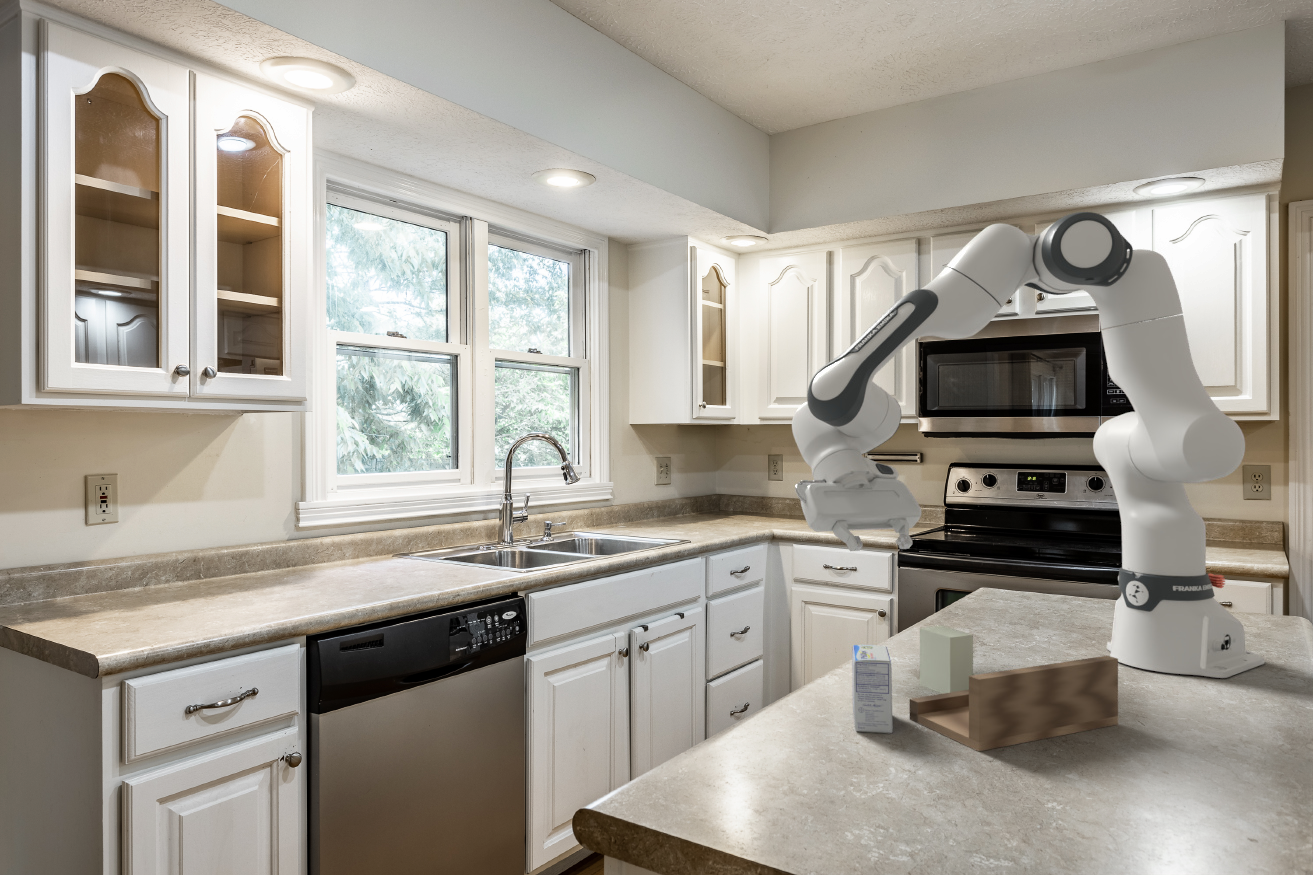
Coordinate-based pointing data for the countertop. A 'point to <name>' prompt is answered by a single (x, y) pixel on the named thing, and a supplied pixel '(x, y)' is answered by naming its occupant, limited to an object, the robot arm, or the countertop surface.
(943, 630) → the sage cabinet block
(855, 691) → the medicine box
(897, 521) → the robot arm
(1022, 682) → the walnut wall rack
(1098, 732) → the countertop surface
